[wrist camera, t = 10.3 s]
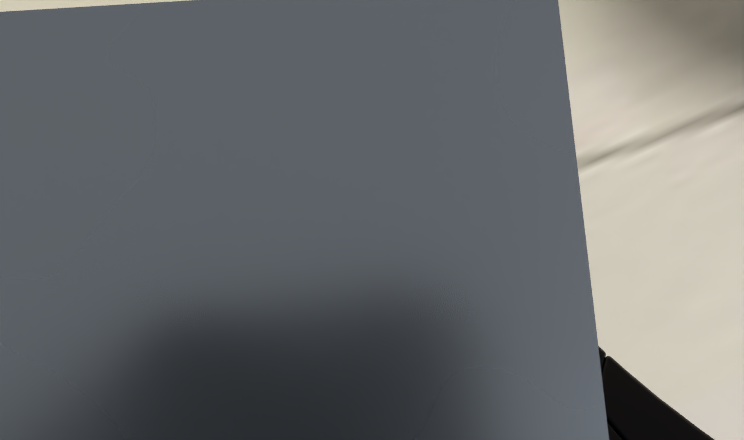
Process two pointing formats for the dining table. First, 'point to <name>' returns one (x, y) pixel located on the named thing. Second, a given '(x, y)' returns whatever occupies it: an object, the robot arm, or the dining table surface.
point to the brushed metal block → (292, 224)
